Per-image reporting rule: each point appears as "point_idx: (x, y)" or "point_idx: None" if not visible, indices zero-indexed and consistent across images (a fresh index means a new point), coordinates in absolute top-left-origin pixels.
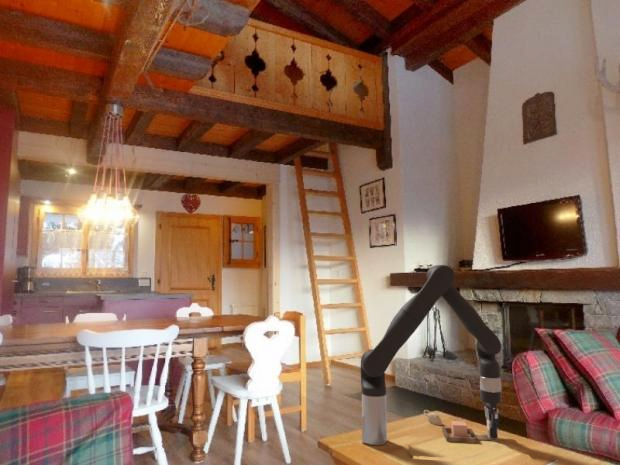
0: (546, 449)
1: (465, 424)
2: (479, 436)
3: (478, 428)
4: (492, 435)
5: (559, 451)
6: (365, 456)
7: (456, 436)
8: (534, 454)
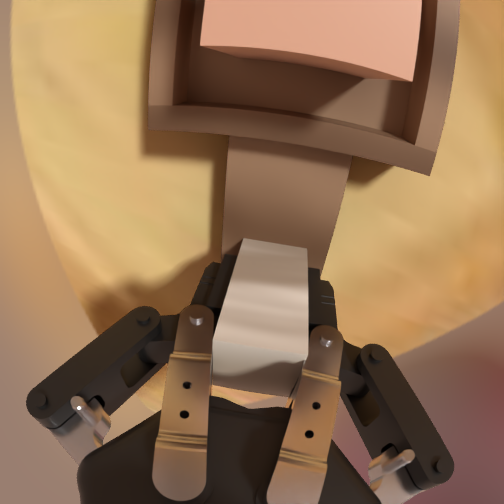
0: None
1: (263, 34)
2: (298, 183)
3: (495, 266)
4: (207, 268)
5: None
6: None
7: None
8: None
